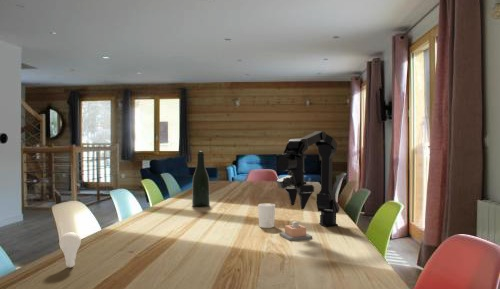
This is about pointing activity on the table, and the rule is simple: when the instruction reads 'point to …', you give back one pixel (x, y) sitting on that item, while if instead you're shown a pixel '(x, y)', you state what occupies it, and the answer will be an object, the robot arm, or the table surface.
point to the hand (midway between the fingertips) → (297, 207)
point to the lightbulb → (70, 247)
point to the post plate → (296, 225)
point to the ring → (295, 231)
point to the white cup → (266, 215)
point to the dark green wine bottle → (200, 184)
